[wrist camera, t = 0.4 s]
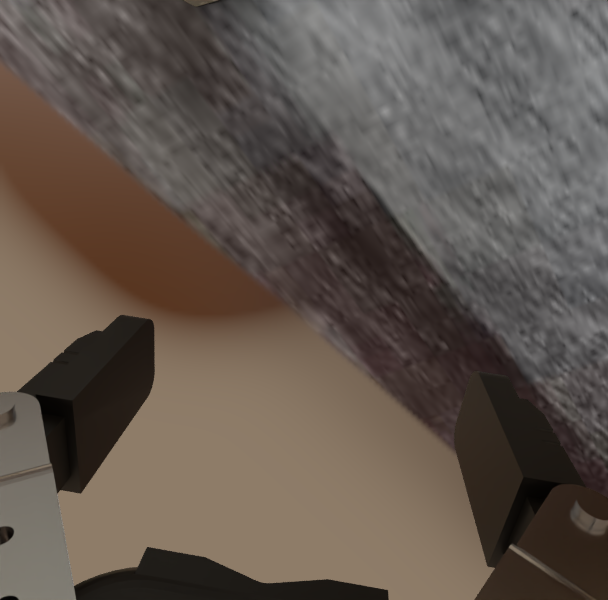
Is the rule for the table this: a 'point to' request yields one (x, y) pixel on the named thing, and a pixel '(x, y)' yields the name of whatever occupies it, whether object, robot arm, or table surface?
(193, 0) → the skincare box
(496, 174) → the table surface
